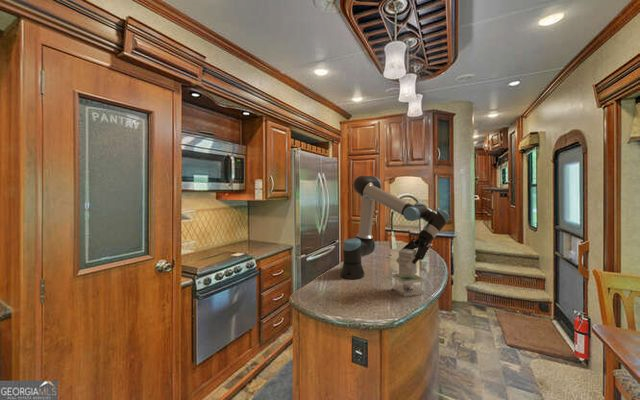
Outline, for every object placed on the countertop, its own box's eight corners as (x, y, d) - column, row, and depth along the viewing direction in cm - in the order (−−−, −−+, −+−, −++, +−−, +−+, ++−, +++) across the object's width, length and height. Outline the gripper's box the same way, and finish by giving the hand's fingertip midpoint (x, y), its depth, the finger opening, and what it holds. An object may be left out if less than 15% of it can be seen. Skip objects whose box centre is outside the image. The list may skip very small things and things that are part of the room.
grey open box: (404, 296, 139) (404, 280, 139) (392, 288, 151) (392, 273, 150) (424, 294, 142) (424, 278, 142) (411, 286, 154) (411, 271, 153)
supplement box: (403, 270, 151) (403, 248, 151) (417, 273, 147) (416, 249, 146) (398, 273, 146) (398, 250, 145) (412, 276, 141) (411, 252, 140)
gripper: (446, 242, 138) (419, 275, 135) (420, 235, 160) (396, 263, 157) (437, 232, 137) (410, 266, 134) (412, 226, 159) (387, 255, 155)
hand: (402, 264), depth 145 cm, fingers closed on supplement box, 10 cm apart
